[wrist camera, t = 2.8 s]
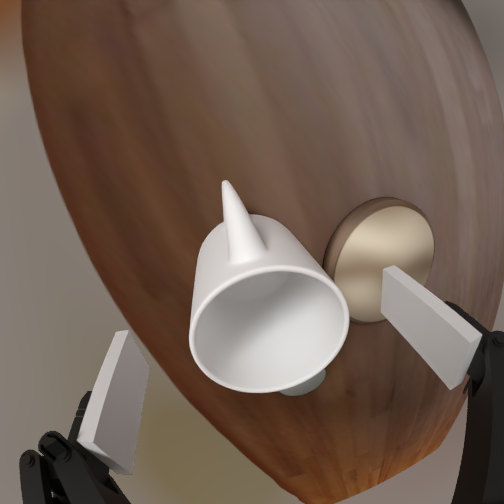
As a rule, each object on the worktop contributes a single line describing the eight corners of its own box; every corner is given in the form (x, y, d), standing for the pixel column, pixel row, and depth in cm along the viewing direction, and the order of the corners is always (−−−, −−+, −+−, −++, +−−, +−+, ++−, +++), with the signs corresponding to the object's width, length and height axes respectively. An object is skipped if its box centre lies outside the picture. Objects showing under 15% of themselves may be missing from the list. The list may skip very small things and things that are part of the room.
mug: (276, 159, 21) (332, 170, 11) (304, 288, 25) (351, 367, 15) (171, 188, 20) (132, 226, 10) (215, 313, 25) (220, 405, 15)
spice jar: (258, 319, 26) (273, 370, 19) (300, 308, 26) (325, 355, 20) (265, 349, 27) (279, 400, 21) (304, 339, 28) (325, 387, 21)
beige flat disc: (315, 209, 22) (324, 215, 21) (427, 189, 23) (439, 193, 21) (325, 329, 27) (331, 341, 26) (420, 295, 28) (429, 304, 26)
